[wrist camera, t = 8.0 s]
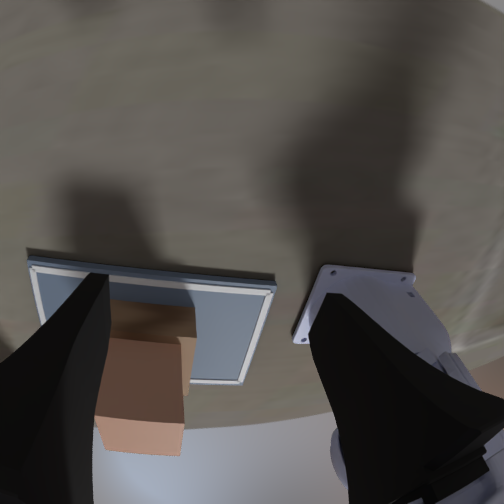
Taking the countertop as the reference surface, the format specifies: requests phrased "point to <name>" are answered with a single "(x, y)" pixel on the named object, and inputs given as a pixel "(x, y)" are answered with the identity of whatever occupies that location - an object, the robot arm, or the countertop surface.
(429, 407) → the robot arm
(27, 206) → the countertop surface
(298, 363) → the countertop surface
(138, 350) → the terracotta block
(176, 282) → the board
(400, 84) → the countertop surface
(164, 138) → the countertop surface
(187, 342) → the walnut base block
